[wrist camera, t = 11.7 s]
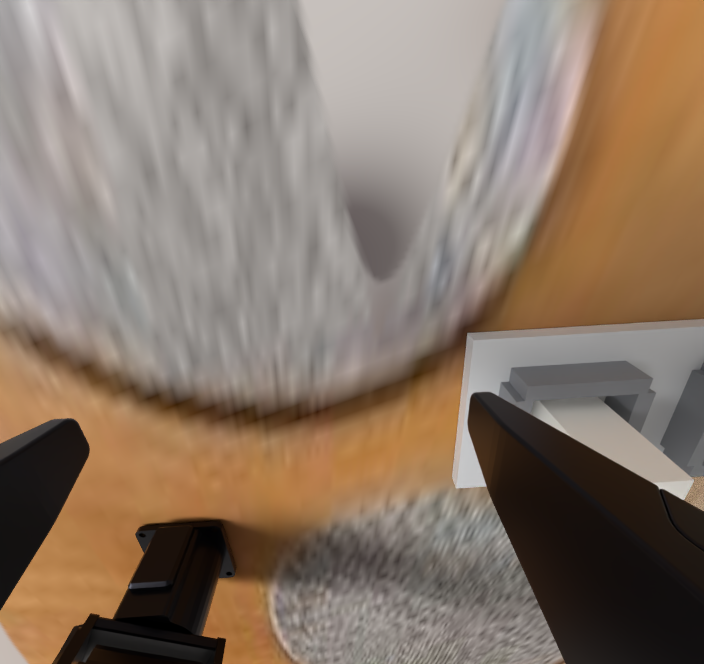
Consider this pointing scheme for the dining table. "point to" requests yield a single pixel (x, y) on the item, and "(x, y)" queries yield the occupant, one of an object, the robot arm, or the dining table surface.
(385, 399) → the dining table surface
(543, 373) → the housing
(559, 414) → the cream rectangular block
